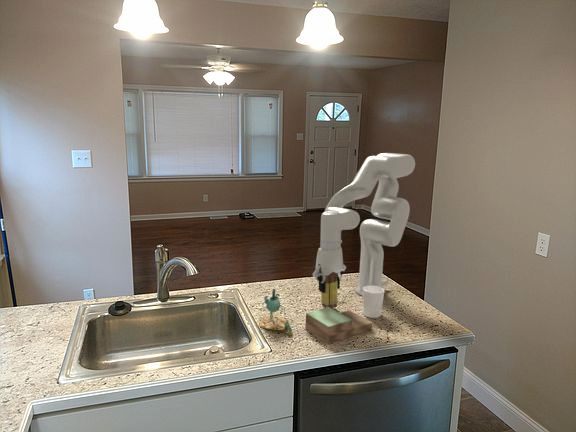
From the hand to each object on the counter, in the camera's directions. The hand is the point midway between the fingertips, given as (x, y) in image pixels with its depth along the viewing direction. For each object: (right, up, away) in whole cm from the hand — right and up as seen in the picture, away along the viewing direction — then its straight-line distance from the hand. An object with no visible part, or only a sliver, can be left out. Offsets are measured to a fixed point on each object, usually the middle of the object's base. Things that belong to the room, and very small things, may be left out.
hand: (329, 289), depth 163 cm
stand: (+2, -11, -15) cm, 19 cm away
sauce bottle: (0, -7, +1) cm, 7 cm away
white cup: (+16, -9, -2) cm, 18 cm away
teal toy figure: (-20, -11, -14) cm, 27 cm away
